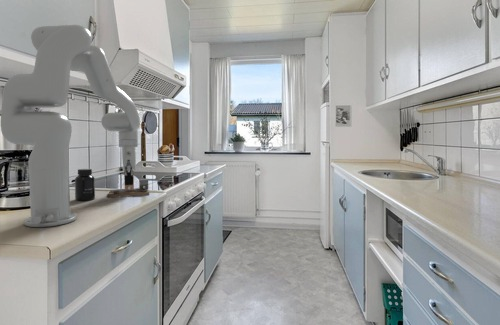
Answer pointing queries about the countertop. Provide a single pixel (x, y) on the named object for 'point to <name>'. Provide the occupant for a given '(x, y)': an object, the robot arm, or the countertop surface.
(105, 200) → the countertop surface
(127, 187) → the sliding leg
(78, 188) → the supplement bottle
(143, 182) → the gauge board
